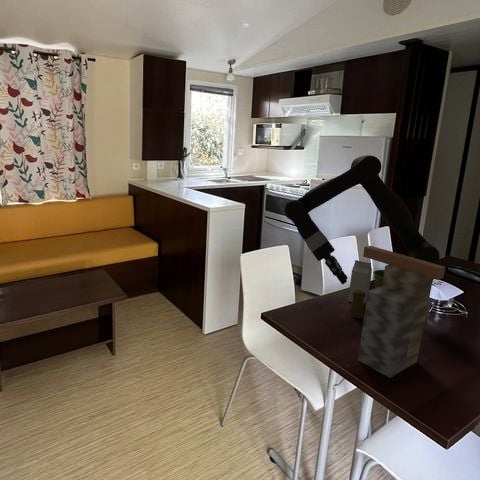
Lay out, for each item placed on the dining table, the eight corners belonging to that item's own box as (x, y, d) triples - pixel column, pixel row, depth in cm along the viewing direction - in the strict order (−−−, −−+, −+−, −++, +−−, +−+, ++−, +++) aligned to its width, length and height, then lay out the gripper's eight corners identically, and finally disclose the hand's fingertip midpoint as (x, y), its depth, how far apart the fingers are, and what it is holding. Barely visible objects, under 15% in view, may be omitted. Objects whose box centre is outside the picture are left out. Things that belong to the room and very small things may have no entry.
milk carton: (363, 305, 171) (369, 265, 166) (347, 301, 174) (352, 262, 169) (367, 300, 176) (373, 261, 171) (352, 296, 180) (357, 258, 175)
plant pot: (374, 289, 190) (377, 267, 187) (399, 295, 184) (402, 273, 181) (366, 296, 181) (369, 274, 178) (392, 303, 174) (396, 280, 171)
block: (363, 256, 133) (364, 246, 132) (369, 255, 135) (370, 245, 134) (437, 279, 113) (439, 268, 112) (443, 277, 115) (445, 266, 114)
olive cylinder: (364, 319, 158) (367, 294, 155) (349, 317, 159) (352, 292, 156) (362, 312, 163) (366, 288, 160) (348, 311, 164) (351, 287, 162)
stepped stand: (357, 360, 128) (370, 270, 119) (384, 346, 137) (398, 261, 129) (390, 378, 119) (406, 282, 110) (416, 362, 128) (433, 272, 120)
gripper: (326, 240, 135) (353, 278, 133) (329, 239, 149) (354, 273, 147) (308, 252, 137) (335, 290, 135) (313, 250, 151) (337, 284, 149)
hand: (345, 281), depth 141 cm, fingers open, 8 cm apart
